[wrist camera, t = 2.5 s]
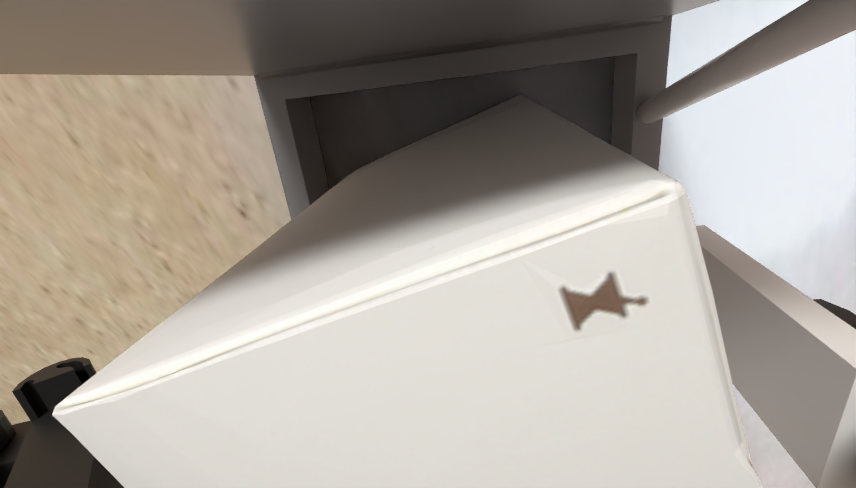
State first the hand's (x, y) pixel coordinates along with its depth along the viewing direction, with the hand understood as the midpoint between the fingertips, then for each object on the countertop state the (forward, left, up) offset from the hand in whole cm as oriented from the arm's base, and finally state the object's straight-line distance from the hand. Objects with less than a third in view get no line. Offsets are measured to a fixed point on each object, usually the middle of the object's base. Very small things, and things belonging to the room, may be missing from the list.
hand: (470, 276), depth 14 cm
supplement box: (0, 0, -6) cm, 6 cm away
